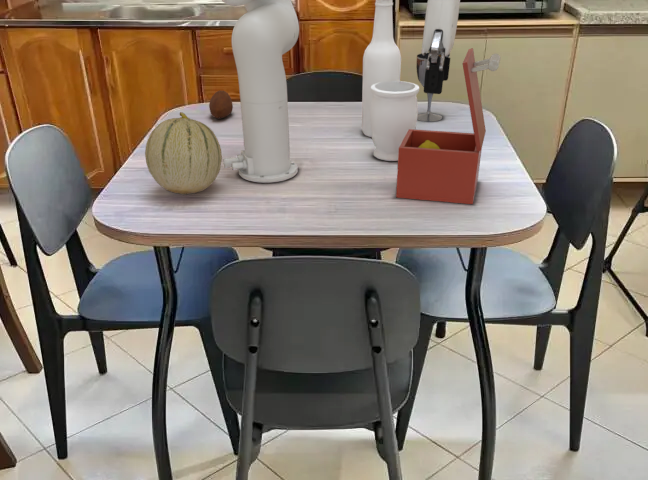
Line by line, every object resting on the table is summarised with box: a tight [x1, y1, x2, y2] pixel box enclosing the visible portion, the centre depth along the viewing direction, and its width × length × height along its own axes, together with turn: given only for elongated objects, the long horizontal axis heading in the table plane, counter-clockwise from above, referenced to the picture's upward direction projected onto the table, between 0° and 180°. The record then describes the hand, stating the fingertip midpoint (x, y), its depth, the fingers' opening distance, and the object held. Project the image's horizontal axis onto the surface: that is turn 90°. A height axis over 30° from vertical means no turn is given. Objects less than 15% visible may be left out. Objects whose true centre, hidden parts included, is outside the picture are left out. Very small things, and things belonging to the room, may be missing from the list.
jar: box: [370, 80, 420, 162], centre depth 148 cm, size 11×10×15 cm
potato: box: [208, 90, 234, 119], centre depth 178 cm, size 6×12×6 cm, turn 179°
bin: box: [395, 128, 483, 205], centre depth 133 cm, size 15×12×10 cm
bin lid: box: [462, 47, 501, 152], centre depth 123 cm, size 16×12×6 cm
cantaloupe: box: [144, 111, 223, 195], centre depth 133 cm, size 15×15×15 cm
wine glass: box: [415, 52, 450, 122], centre depth 172 cm, size 8×8×15 cm
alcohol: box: [361, 0, 402, 138], centre depth 158 cm, size 9×9×30 cm
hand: (436, 86), depth 125 cm, fingers open, 9 cm apart
